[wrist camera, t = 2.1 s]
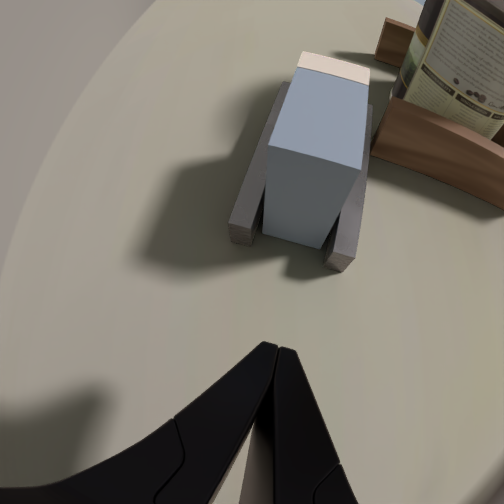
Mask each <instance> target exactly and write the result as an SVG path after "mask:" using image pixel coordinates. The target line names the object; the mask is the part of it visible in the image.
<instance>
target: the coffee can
mask: <svg viewBox="0 0 504 504" xmlns="http://www.w3.org/2000/svg"><path fill="white" fill-rule="evenodd" d="M392 96H394V97H397V98H399V99H402V100H405V101H407V102H410V103H412V104H415V105H417V106H420V107H422V108H425V109H427V110H429V111H432V112H434V113H436V114H439V115H441V116H443V117H445V118H447V119H450V120H452V121H454V122H456V123H458V124H460V125H462V126H464V127H466V128H468V129H470V130H472V131H474V132H476V133H478V134H480V135H482V136H483V137H485V138H487V139H489V140H491V139H492V138H493V137H494V135H495V134H496V133H497V132H498V131H499V129H500V128H501V127H502V125H503V124H504V0H426V1H425V4H424V7H423V10H422V13H421V15H420V18H419V21H418V24H417V27H416V30H415V32H414V35H413V38H412V40H411V43H410V46H409V48H408V51H407V53H406V56H405V59H404V61H403V64H402V66H401V69H400V71H399V74H398V76H397V79H396V81H395V84H394V86H393V87H392V89H391V91H390V95H389V100H390V99H391V97H392Z"/></svg>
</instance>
